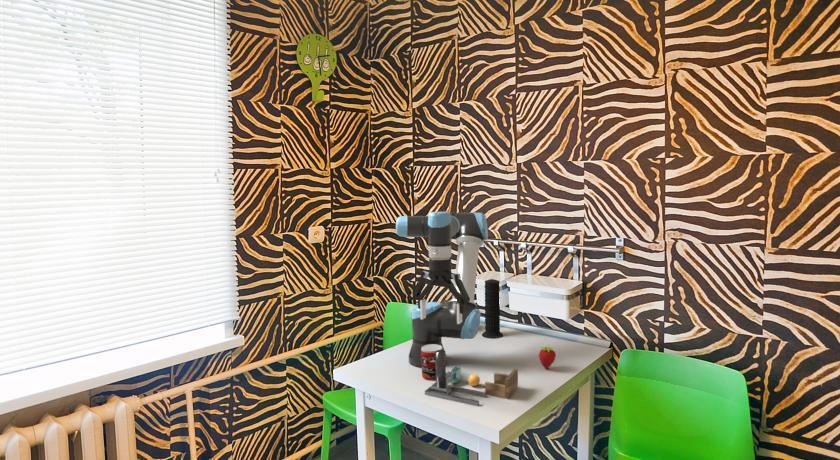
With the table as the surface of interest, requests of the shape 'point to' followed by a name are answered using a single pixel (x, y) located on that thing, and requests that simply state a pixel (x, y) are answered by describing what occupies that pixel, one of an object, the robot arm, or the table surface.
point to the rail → (456, 398)
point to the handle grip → (492, 309)
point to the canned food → (429, 361)
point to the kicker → (444, 374)
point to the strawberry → (547, 356)
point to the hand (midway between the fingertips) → (441, 320)
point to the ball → (474, 380)
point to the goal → (503, 385)
